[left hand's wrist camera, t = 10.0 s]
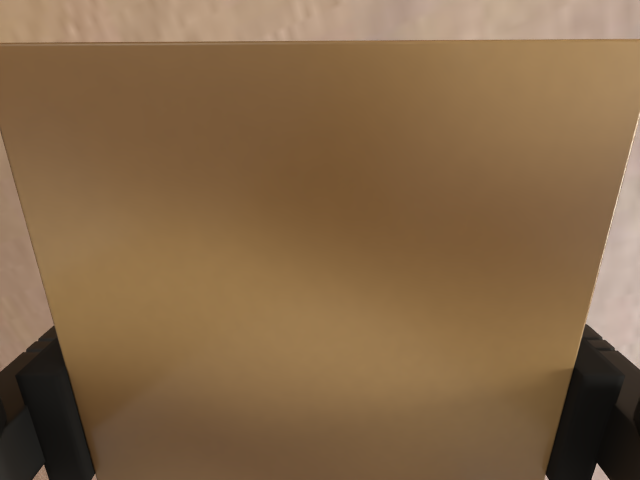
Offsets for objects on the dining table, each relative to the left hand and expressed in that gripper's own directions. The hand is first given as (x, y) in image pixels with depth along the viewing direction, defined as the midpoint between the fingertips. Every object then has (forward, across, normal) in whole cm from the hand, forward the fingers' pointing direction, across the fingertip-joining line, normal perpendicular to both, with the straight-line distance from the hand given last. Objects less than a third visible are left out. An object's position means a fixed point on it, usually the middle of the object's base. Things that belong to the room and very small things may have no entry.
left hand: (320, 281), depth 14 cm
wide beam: (+1, 0, -22) cm, 22 cm away
